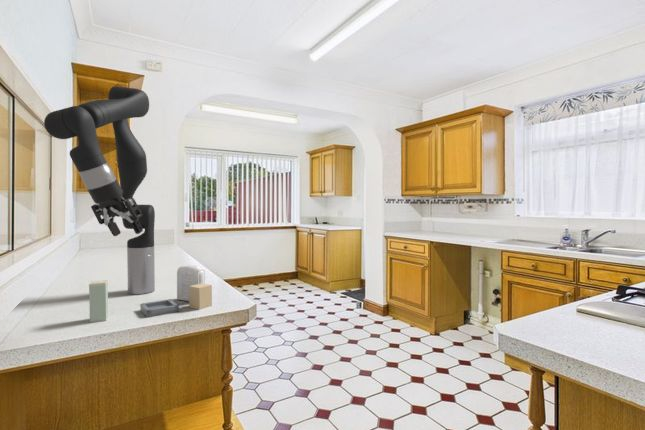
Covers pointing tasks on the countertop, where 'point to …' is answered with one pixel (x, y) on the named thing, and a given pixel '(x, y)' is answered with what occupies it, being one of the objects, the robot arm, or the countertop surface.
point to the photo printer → (188, 280)
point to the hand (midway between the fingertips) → (128, 233)
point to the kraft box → (200, 296)
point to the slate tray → (159, 308)
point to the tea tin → (98, 300)
